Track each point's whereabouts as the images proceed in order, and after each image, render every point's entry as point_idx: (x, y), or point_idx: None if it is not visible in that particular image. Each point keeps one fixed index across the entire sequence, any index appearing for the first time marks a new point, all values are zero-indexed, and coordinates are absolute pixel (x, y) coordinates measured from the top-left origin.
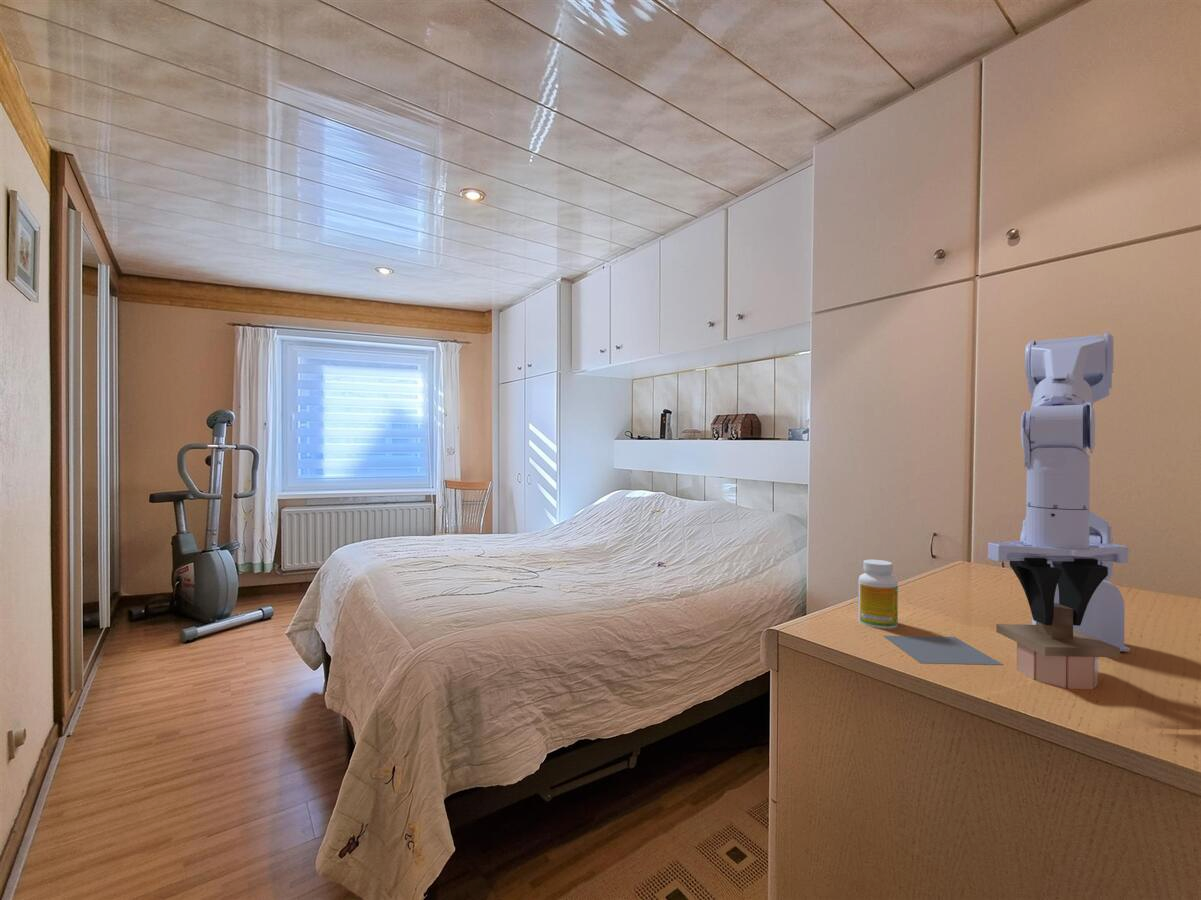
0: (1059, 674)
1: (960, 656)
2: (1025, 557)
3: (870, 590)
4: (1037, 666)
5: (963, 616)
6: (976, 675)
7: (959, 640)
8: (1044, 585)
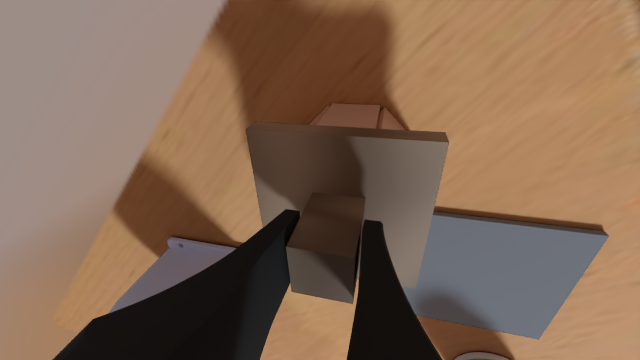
0: (390, 125)
1: (470, 250)
2: None
3: None
4: None
5: (310, 356)
6: (510, 184)
7: None
8: (421, 338)
